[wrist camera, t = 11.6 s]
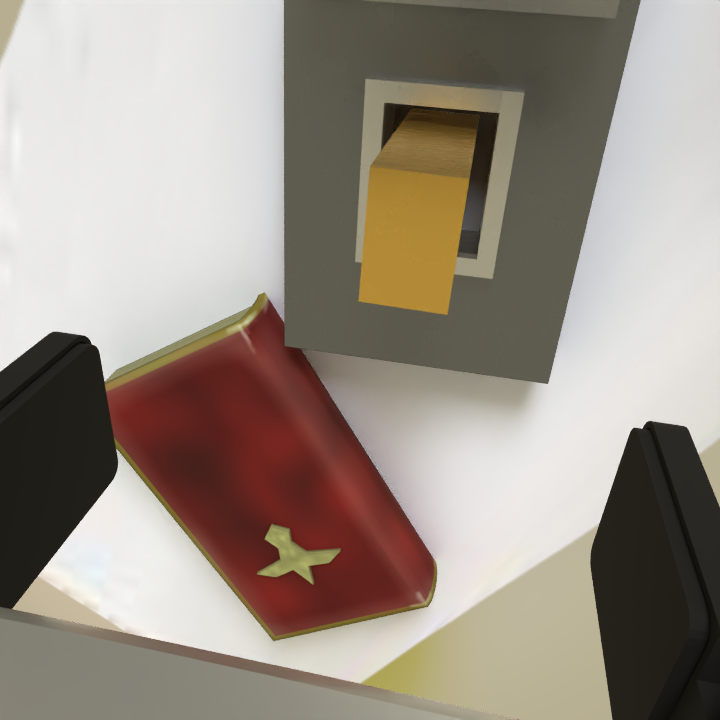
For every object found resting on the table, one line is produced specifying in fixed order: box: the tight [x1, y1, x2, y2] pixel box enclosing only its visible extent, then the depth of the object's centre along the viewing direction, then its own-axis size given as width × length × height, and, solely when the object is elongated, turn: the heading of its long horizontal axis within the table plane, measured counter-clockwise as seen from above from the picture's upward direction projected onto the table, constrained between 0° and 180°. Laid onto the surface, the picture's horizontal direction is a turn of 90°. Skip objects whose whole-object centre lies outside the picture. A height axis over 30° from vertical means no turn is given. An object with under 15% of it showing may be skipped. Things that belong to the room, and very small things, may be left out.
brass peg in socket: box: [359, 108, 480, 315], centre depth 25 cm, size 4×3×11 cm, turn 176°
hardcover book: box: [104, 292, 437, 641], centre depth 40 cm, size 12×21×4 cm, turn 29°
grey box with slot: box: [284, 0, 640, 384], centre depth 28 cm, size 18×13×5 cm
